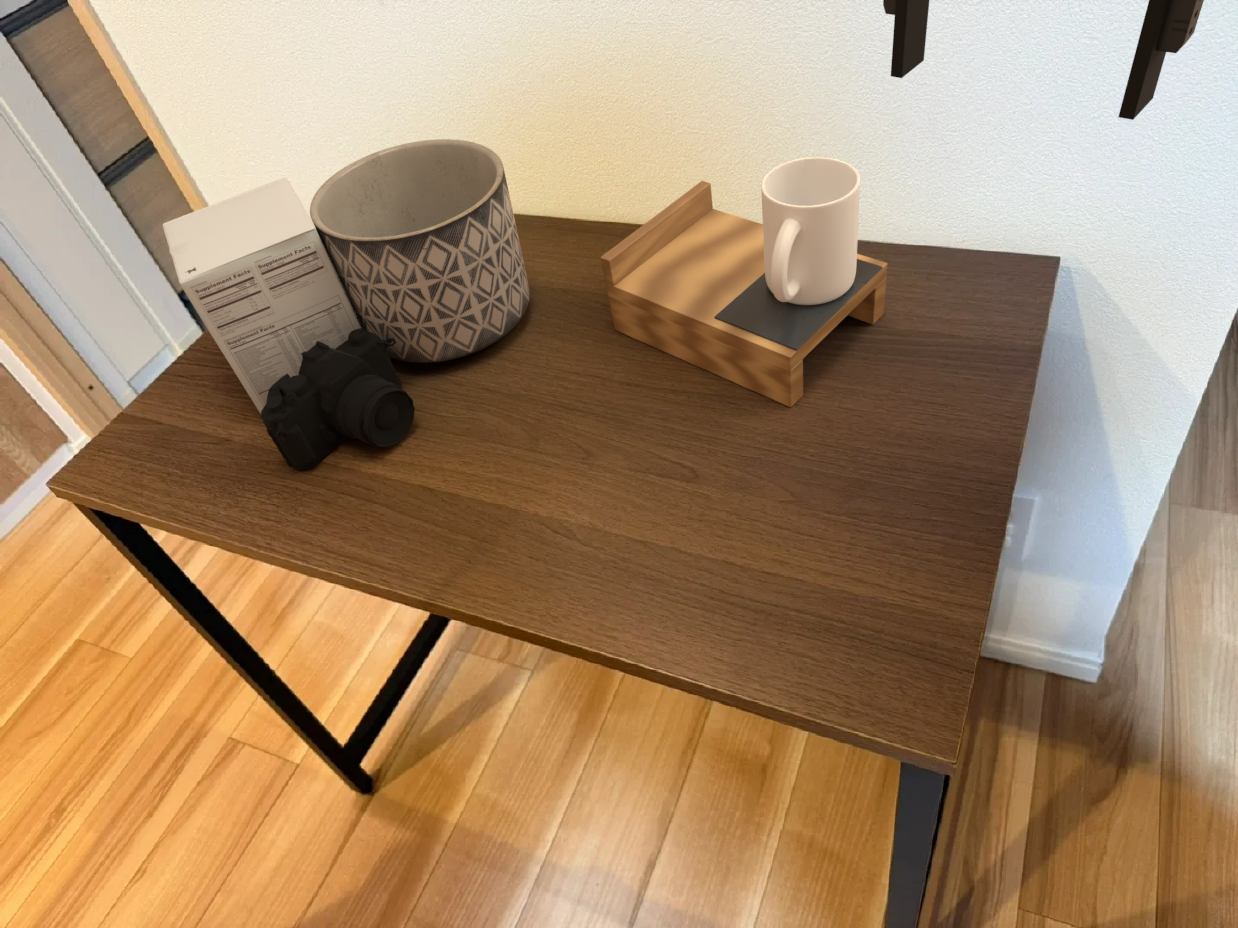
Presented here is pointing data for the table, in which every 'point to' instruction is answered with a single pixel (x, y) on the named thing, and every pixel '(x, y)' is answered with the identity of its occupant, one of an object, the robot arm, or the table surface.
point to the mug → (810, 229)
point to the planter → (426, 247)
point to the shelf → (724, 297)
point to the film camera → (338, 401)
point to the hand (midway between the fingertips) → (1013, 87)
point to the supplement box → (260, 283)
